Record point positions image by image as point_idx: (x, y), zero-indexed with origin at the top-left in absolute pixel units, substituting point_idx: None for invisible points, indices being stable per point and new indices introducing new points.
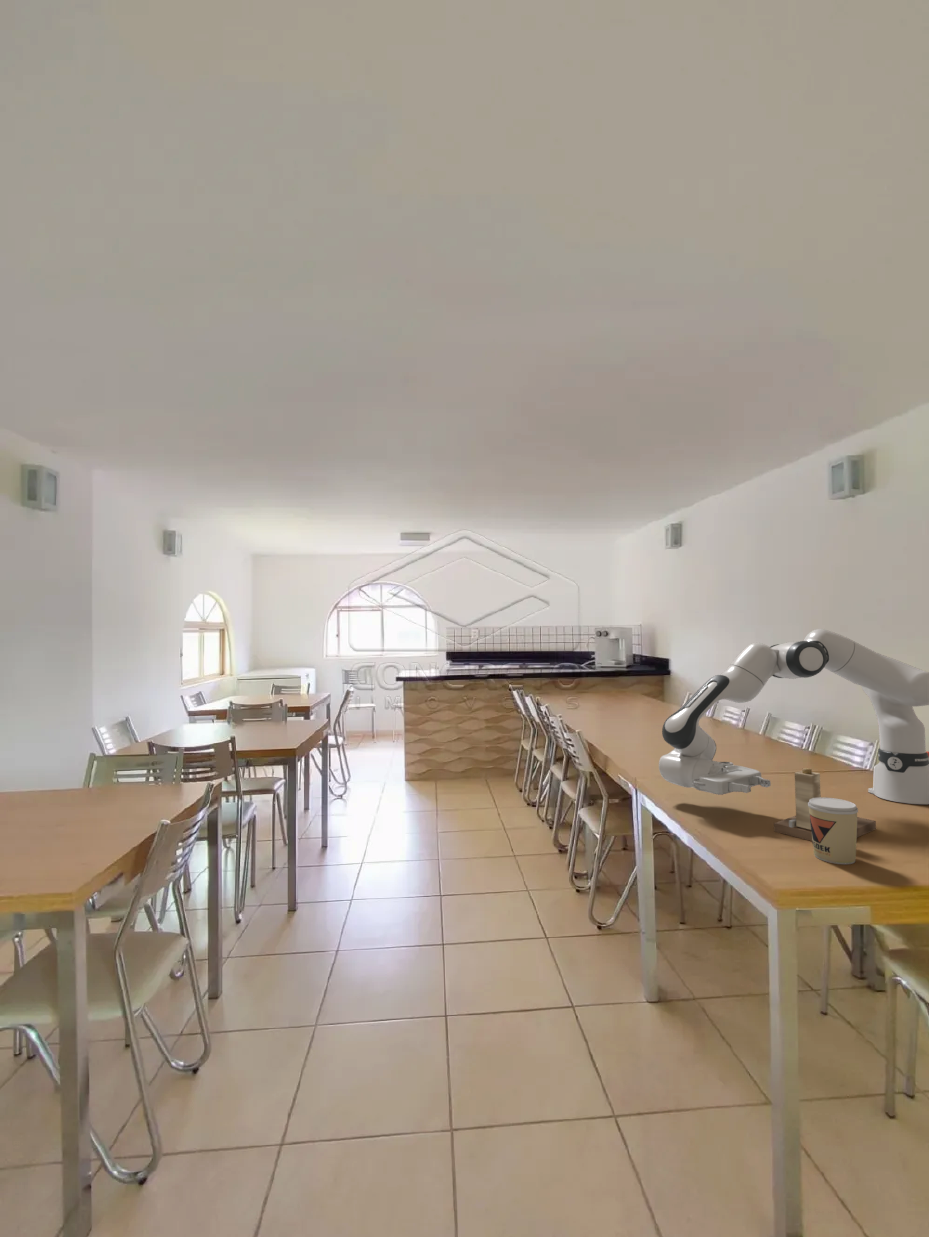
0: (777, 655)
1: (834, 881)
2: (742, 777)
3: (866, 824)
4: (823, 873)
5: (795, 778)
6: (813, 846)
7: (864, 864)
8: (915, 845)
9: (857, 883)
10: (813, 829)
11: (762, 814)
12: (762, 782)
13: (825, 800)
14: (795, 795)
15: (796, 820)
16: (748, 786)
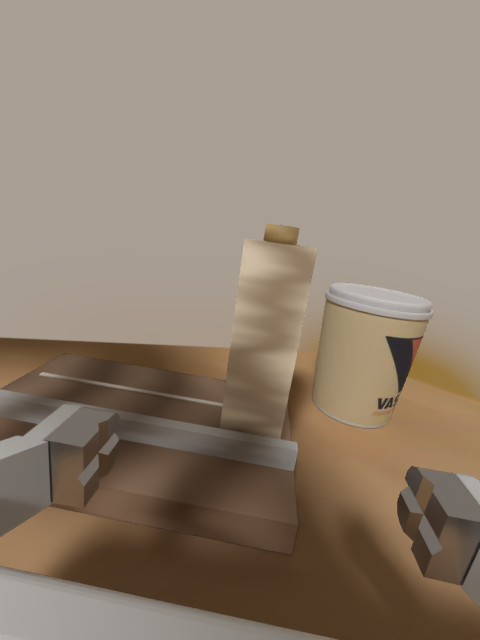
0: None
1: (451, 399)
2: (243, 623)
3: (111, 362)
4: (444, 410)
5: (312, 273)
6: (389, 409)
7: None
8: (158, 346)
9: (417, 383)
10: (409, 367)
11: None
12: (90, 461)
13: (371, 296)
14: (298, 344)
15: (281, 431)
16: (446, 473)
